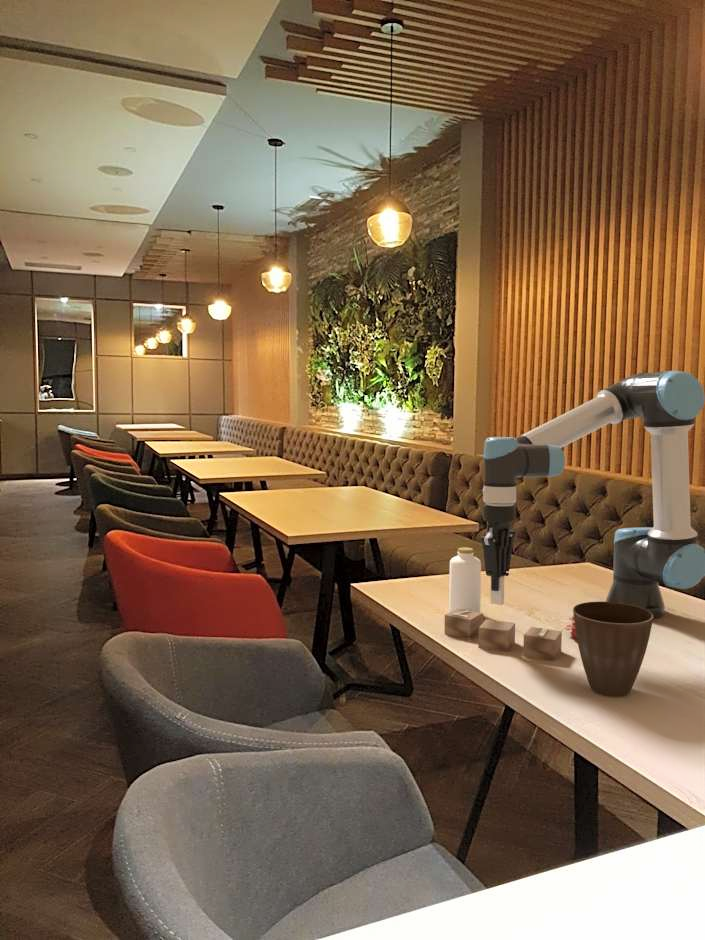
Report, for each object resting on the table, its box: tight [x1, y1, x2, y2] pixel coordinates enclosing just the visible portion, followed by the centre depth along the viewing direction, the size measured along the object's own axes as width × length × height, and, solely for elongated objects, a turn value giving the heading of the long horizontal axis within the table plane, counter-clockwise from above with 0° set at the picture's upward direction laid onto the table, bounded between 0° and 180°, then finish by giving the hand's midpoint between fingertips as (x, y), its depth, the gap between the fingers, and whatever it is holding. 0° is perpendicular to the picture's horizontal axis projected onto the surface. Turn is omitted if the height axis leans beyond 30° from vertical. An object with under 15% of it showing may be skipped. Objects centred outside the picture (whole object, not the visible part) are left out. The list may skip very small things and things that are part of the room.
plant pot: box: [572, 601, 654, 698], centre depth 146 cm, size 15×15×16 cm
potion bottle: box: [448, 546, 482, 613], centre depth 197 cm, size 8×8×18 cm
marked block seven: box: [444, 608, 484, 640], centre depth 183 cm, size 7×7×5 cm
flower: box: [564, 614, 577, 639], centre depth 178 cm, size 10×9×8 cm
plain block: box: [478, 618, 516, 652], centre depth 174 cm, size 7×7×5 cm
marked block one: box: [522, 626, 563, 662], centre depth 167 cm, size 7×7×5 cm
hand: (497, 603), depth 173 cm, fingers closed
